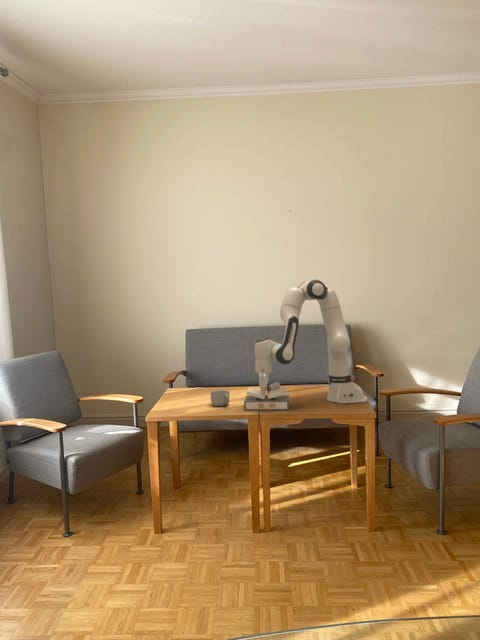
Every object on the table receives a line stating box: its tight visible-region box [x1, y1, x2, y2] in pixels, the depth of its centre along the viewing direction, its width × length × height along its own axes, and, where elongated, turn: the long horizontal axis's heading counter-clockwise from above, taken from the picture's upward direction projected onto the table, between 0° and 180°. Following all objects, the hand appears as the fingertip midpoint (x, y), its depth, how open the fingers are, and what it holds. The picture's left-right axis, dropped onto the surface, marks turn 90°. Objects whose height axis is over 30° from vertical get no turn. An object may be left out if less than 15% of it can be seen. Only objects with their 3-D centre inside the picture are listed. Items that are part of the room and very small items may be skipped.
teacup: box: [209, 389, 230, 407], centre depth 307 cm, size 14×11×8 cm
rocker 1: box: [246, 386, 267, 399], centre depth 301 cm, size 10×11×2 cm
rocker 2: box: [267, 386, 288, 399], centre depth 299 cm, size 10×11×2 cm
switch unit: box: [243, 394, 291, 412], centre depth 300 cm, size 24×14×7 cm, turn 84°
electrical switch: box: [266, 381, 282, 395], centre depth 320 cm, size 9×5×9 cm, turn 141°
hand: (264, 393), depth 300 cm, fingers open, 8 cm apart
